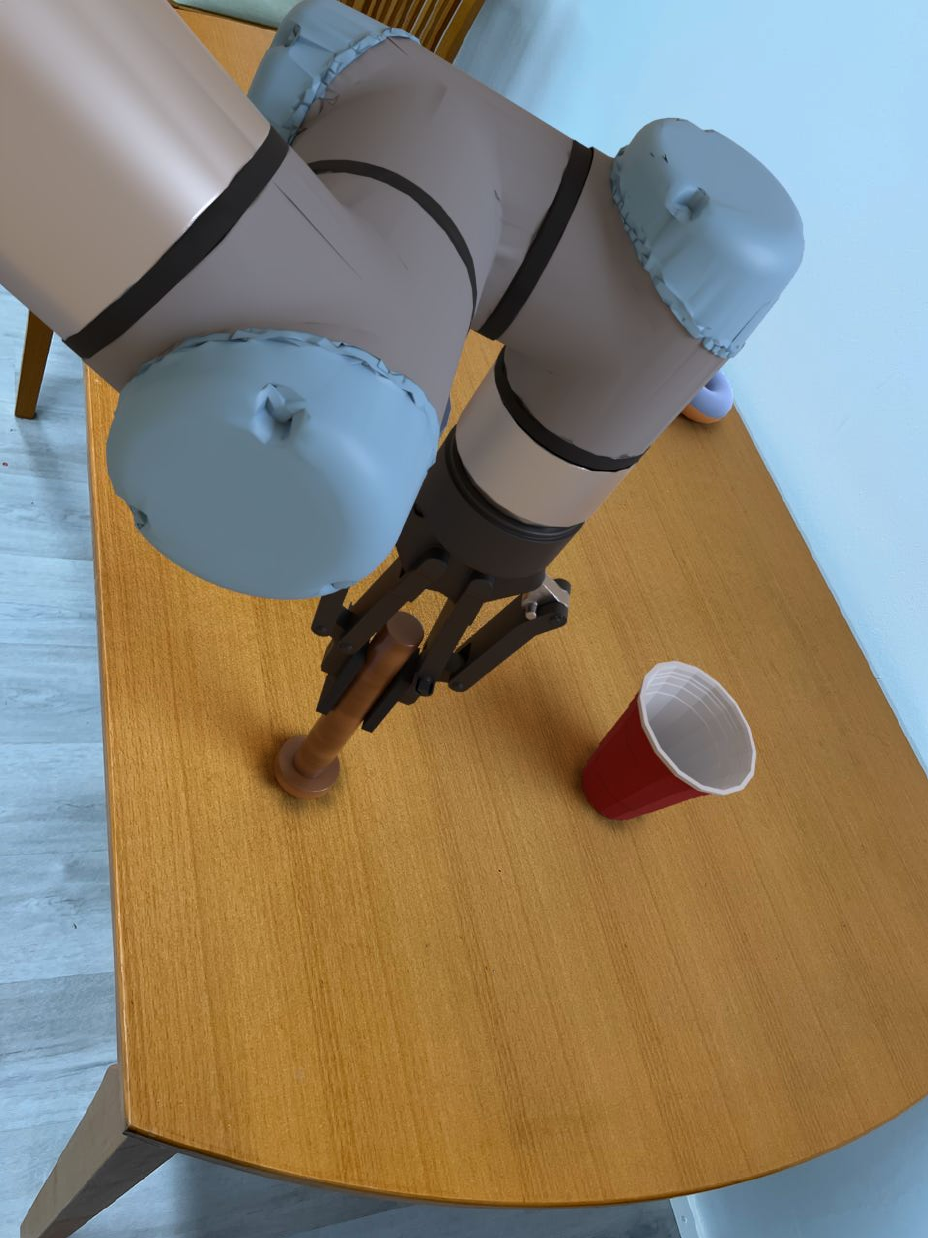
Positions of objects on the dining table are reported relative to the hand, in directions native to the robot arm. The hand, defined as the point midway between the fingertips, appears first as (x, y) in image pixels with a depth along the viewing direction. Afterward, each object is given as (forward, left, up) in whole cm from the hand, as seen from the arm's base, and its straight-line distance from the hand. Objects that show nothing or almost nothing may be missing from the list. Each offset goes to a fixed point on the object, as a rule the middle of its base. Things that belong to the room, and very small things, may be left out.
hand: (349, 704), depth 62 cm
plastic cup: (+25, +8, -9) cm, 28 cm away
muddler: (0, -1, -9) cm, 9 cm away
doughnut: (+31, +64, -9) cm, 72 cm away
